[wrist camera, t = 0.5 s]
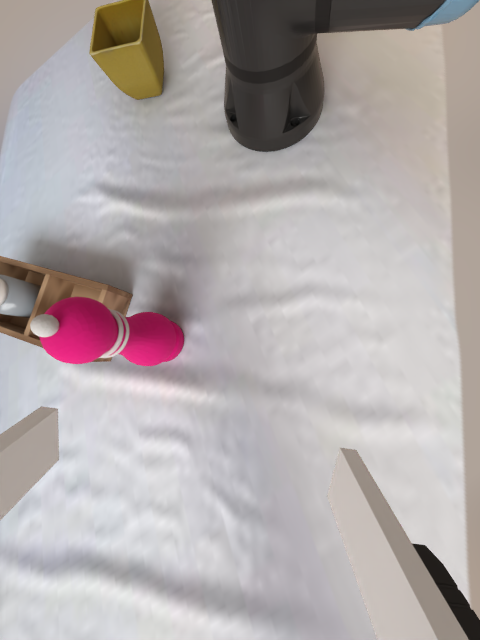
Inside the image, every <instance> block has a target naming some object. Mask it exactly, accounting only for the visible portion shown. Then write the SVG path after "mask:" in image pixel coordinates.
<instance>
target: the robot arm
mask: <svg viewBox="0 0 480 640" xmlns="http://www.w3.org/2000/svg"><path fill="white" fill-rule="evenodd" d="M478 1H479V0H212V4H213V8H214V13H215V17H216V22H217V26H218V31H219V35H220V40H221V44H222V48H223V53H224V57H225V62H226V78H225V98H224V109H225V116H226V119H227V123H228V127H229V130H230V132H231V134H232V136H233V137H234V138H235V139H236V140H237V141H238V142H239V143H240V144H241V145H243V146H245V147H247V148H249V149H252V150H256V151H263V152H268V151H276V150H281V149H284V148H287V147H289V146H291V145H293V144H295V143H297V142H298V141H300V140H301V139H303V138H304V137H305V136H306V135H307V134H308V133H309V132H310V131H311V130H312V129H313V127H314V126H315V125H316V123H317V121H318V119H319V117H320V114H321V111H322V106H323V98H324V79H323V74H322V69H321V64H320V58H319V53H318V48H317V43H316V40H317V33H334V32H352V31H370V30H388V29H406V30H410V31H414V30H415V29H420V28H422V27H424V26H430V25H438V24H445V23H449V22H451V21H453V20H456V19H458V18H459V17H461V16H462V15H464V14H465V13H466V12H468V11H469V10H470V9H471V8H472V7H473V6H474V5H475V4H476V3H477V2H478ZM58 460H59V439H58V409H56V408H48V407H40V408H38V409H37V410H35V411H34V412H33V413H31V414H30V415H28V416H27V417H25V418H24V419H22V420H21V421H19V422H18V423H17V424H15V425H14V426H12V427H11V428H9V429H8V430H6V431H5V432H3V433H2V434H1V435H0V520H1V519H2V518H3V517H4V516H5V515H6V514H7V513H8V512H9V511H10V510H11V509H12V508H13V507H14V506H15V505H16V504H17V502H18V501H19V500H20V499H21V498H22V497H23V496H24V495H25V494H26V493H27V492H28V491H29V490H30V489H31V488H32V487H33V486H34V485H35V484H36V483H37V482H38V481H39V480H40V479H41V478H42V477H43V476H44V475H45V473H46V472H47V471H48V470H49V469H50V468H51V467H52V466H53V465H54V464H55V463H56V462H57V461H58ZM327 497H328V500H329V503H330V506H331V509H332V511H333V514H334V517H335V520H336V523H337V526H338V529H339V532H340V534H341V537H342V540H343V543H344V546H345V549H346V552H347V554H348V557H349V560H350V563H351V566H352V569H353V572H354V574H355V577H356V580H357V583H358V586H359V589H360V592H361V595H362V597H363V600H364V603H365V606H366V609H367V612H368V615H369V617H370V620H371V623H372V626H373V629H374V632H375V635H376V638H377V640H480V620H479V618H478V617H477V615H476V614H475V612H474V611H473V610H471V608H470V605H469V603H468V602H467V600H466V599H465V597H464V595H463V594H462V592H461V591H460V590H458V588H457V585H456V583H455V582H454V580H453V579H452V577H451V576H450V574H449V573H448V571H447V570H446V568H445V567H444V565H443V564H442V563H441V562H440V561H439V560H438V558H437V557H436V556H435V555H434V554H433V553H432V552H431V551H430V550H429V549H428V548H427V547H426V546H425V545H419V544H412V543H411V541H410V540H409V538H408V536H407V535H406V533H405V531H404V530H403V528H402V526H401V525H400V523H399V521H398V520H397V518H396V516H395V514H394V513H393V511H392V509H391V508H390V506H389V504H388V503H387V501H386V499H385V498H384V496H383V494H382V493H381V491H380V489H379V488H378V486H377V484H376V482H375V481H374V479H373V477H372V476H371V474H370V472H369V471H368V469H367V467H366V466H365V464H364V462H363V461H362V459H361V457H360V456H359V454H358V452H357V450H352V449H345V448H340V449H339V453H338V457H337V461H336V465H335V468H334V472H333V476H332V480H331V484H330V488H329V492H328V495H327Z"/></svg>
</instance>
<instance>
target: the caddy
mask: <svg viewBox="0 0 480 640" xmlns="http://www.w3.org/2000/svg"><path fill="white" fill-rule="evenodd" d="M0 274H1V275H5V276H9V277H12V278H16V279H19V280H23V281H26V282H30V283H33V284H37V285H40V286H41V288H40V291H39V294H38V297H37V299H36V302H35V305H34V308H33V310H32V313H31V316H30V318H25V317H19V316H12V315H5V314H0V332H1V333H4V334H6V335H9V336H12V337H15V338H17V339H20V340H23V341H26V342H28V343H31V344H34V345H37V346H40V347H42V348H43V346H42V344H41V341H40V337H39V336H37V335H35V334H34V333H33V332H32V330H31V328H30V324H31V321H32V320H33V319H34V318H35V317H36V316H38V315H41V314H45V312H46V311H47V310H48V309H49V308H50V307H51V306H52V305H53V304H55V303H56V302H58V301H60V300H62V299H65V298H69V297H86V298H91V299H94V300H97V301H99V302H101V303H102V304H104V305H105V306H106V307H107V308H108V309H111V310H115V311H118V312H120V313H121V314H122V315H123V316H124V317H126V314H127V311H128V308H129V304H130V301H131V298H132V294H130V293H127V292H125V291H122V290H120V289H117V288H115V287H112V286H110V285H107V284H103V283H99V282H95V281H92V280H88V279H84V278H80V277H77V276H73V275H69V274H65V273H62V272H58V271H54V270H50V269H47V268H43V267H39V266H36V265H32V264H28V263H24V262H21V261H17V260H13V259H9V258H6V257H2V256H0ZM111 359H112V357H110V358H97V359H95V360H94V361H92V362H101V361H111Z"/></svg>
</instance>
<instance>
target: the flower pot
mask: <svg viewBox="0 0 480 640" xmlns="http://www.w3.org/2000/svg"><path fill="white" fill-rule="evenodd" d="M90 55H91V56H92V58H93V59H94V60H95V61H96V63H97V64H98V65H99V66H100V68H101V69H102V70H103V71H104V72H105V74H106V75H107V76H108V77H109V78H110V80H111V81H112V82H113V83H114V84H115V85H116V86H117V87H118V88H119V89H120V90H121V91H123V92H124V93H125V94H127V95H129V96H130V97H132V98H135V99H137V100H139V99H144V98H149V97H154V96H159V95H161V94H162V86H163V75H164V61H163V51H162V45H161V40H160V36H159V33H158V29H157V26H156V23H155V20H154V17H153V14H152V11H151V8H150V5H149V1H148V0H122V1H118V2H114V3H110V4H106V5H103V6H100V7H98V8H96V10H95V16H94V24H93V31H92V38H91V44H90Z"/></svg>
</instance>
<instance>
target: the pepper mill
mask: <svg viewBox="0 0 480 640" xmlns="http://www.w3.org/2000/svg"><path fill="white" fill-rule="evenodd" d="M30 328H31V330H32V332H33V333H34V334H35V335H37V336H39V337H40V341H41V344H42V346H43V348H44V349H45V350H46V352H47V353H48V354H49V355H51V356H52V357H54V358H55V359H57V360H59V361H62V362H65V363H72V364H82V363H88V362H92V361H94V360H95V359H97V358H110V357H113V356H115V355H117V354H121V355H123V356H124V357H125V358H126V359H127V360H129V361H130V362H132V363H135V364H137V365H142V366H154V365H157V364H160V363H162V362H167V361H170V360H172V359H174V358H175V357H177V356H178V354H179V353H180V352H181V350H182V347H183V344H184V336H183V332H182V330H181V328H180V327H179V326H178V325H177V324H176V323H174V322H172V321H169V320H168V319H167V318H166V317H165V316H163V315H161V314H158V313H153V312H142V313H138V314H135V315H133V316H131V317H124V316H123V315H122V314H121V313H120V312H118V311H115V310H111V309H108V308H107V307H106V306H105V305H104V304H102V303H101V302H99V301H97V300H94V299H91V298H86V297H69V298H65V299H62V300H60V301H58V302H56V303H55V304H53V305H52V306H51V307H50V308H49V309H48V310H47V311H46V312H45V314H41V315H38V316H36V317H35V318H34V319H33V320H32V321H31V324H30Z"/></svg>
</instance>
